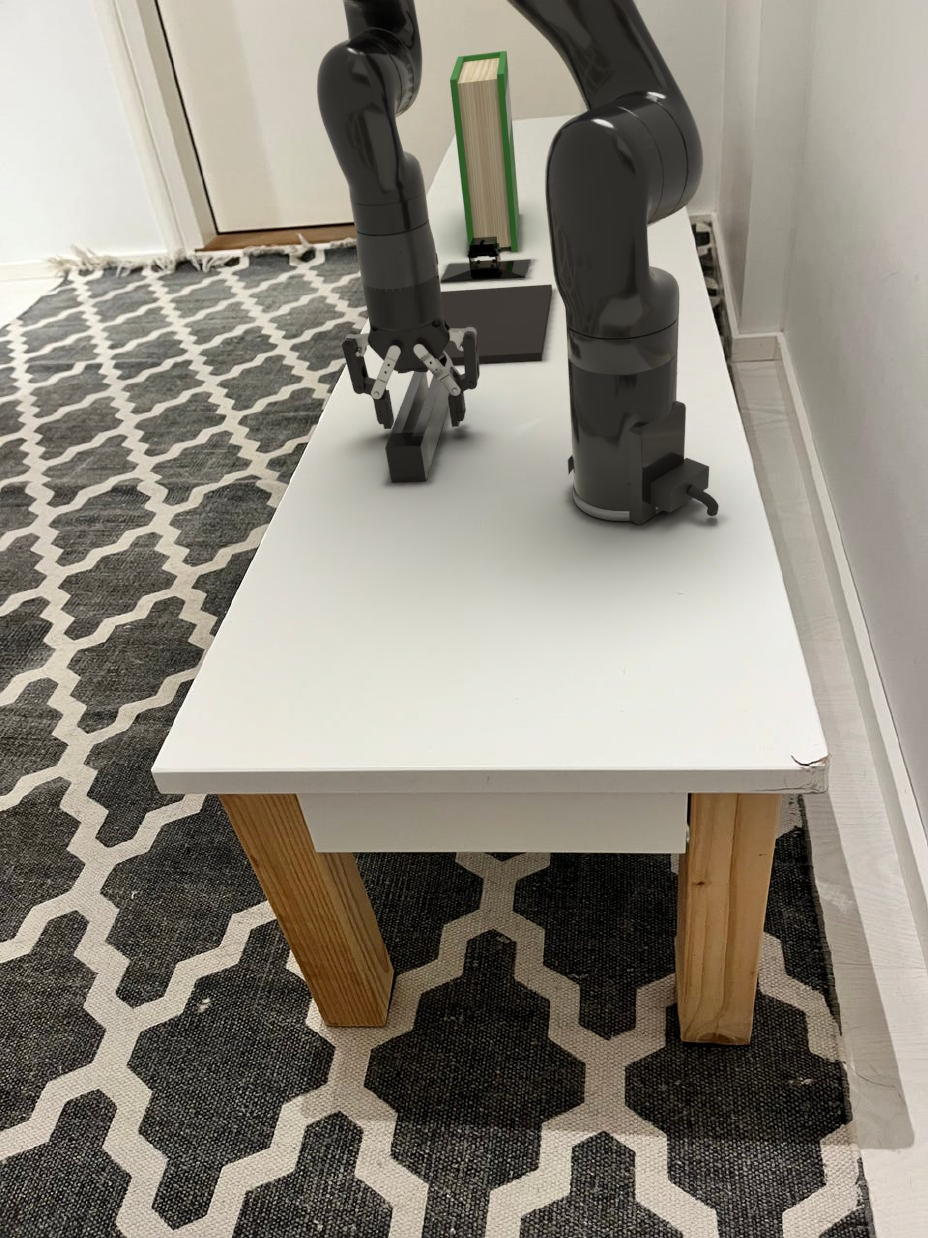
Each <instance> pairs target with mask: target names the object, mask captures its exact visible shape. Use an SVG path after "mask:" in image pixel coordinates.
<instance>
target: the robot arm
mask: <svg viewBox="0 0 928 1238" xmlns="http://www.w3.org/2000/svg"><path fill="white" fill-rule="evenodd" d="M505 1H506V2H507V3H508V4H509V5H510V6H512V7H513V8H514V10H516V12H518V14H520V15H521V16H522V17H523V18H524V19H525V20H526V21H527V22H528V23H529V24H530V25H531V26H532V27H533V28H535V29H536V30H537V31H538V33H540V34H541V35H542V36H543V38H544V39H545V40H546V41H547V42H548V43H549V44H550V45H551V46H552V48H553V49H554V50H555V51H556V52H557V54H558V55H559V57H560V58H561V60H562V62H563V63H564V65H565V66H566V68H567V69H568V72H569V73H570V75H571V77H572V79H573V81H574V84H575V85H576V88H577V90H578V92H579V94H580V96H581V98H582V100H583V103H584V106H585V108H586V111H584V112H582V113H580V114H577V115H575V116H573V117H572V118H569V119H568V120H567V121H565V122H564V123H563V124H562V125H561V126H560V127H559V128H558V129H557V131H556V132H555V134H554V136H553V137H552V140H551V142H550V145H549V147H548V151H547V156H546V162H545V169H544V170H545V171H544V194H545V196H544V197H545V207H546V216H547V225H548V233H549V234H548V235H549V243H550V253H551V263H552V269H553V270H552V271H553V277H554V281H555V285H556V287H557V288H556V289H557V291H558V294H559V296H560V298H561V300H562V303H563V306H564V310H565V327H566V328H565V330H566V347H567V349H566V350H567V351H566V352H567V373H568V393H569V411H570V412H569V413H570V414H569V415H570V432H571V436H570V437H571V452H572V453H571V455H570V456H569V457H568V459H567V470H568V471H567V472H568V473H567V475H568V476H569V475H570V474H571V472H572V471H573V483H572V493H573V494H572V495H573V500H574V503H575V504H576V506H577V507H578V508H579V509H580V510H581V511H583V512H584V513H586V514H587V515H589V516H592V517H595V518H597V519H601V520H605V521H613V522H631V523H634V524H636V525H642V524H644V523H645V522H647V521H649V520H650V519H652V518H653V517H654V516H656V515H658V514H660V513H661V512H663V511H664V512H666V513H669V514H670V513H672V512H674V511H676V509H678V508H680V507H682V506H683V505H684V504H686V503H688V502H689V501H690V500H692V499H695V500H696V501H698V502H700V503H701V504H703V505H704V506H705V507H706V508H707V509H706V514H707V515H708V516H709V517H715V516H717V515H718V512H719V508H720V506H719V503H718V501H716V499H715V498H714V497H713V496H712V495H711V494H709V493H708V492H706V491H705V490H707V489H709V481H710V479H709V477H710V466H709V465H706V464H704V463H701V462H699V461H697V460H694V459H691V458H688V457H685V453H686V452H685V448H686V423H687V421H686V419H687V406H686V404H685V402H681V401H679V400H677V396H678V394H677V392H678V390H677V389H678V360H679V359H678V356H679V355H678V353H679V328H680V327H679V326H680V325H679V324H680V323H679V322H680V321H679V320H680V287H679V282H678V281H677V279H676V277H674V275H673V274H672V273H670V272H668V271H667V270H665V269H662V268H659V267H656V266H651V265H650V256H649V254H650V253H649V239H648V237H649V236H648V228H649V227H651V226H654V225H655V224H657V223H659V222H661V221H663V220H664V219H666V218H669V217H670V216H672V215H674V214H676V213H677V212H679V211H680V210H682V209H683V208H684V207H686V206H687V205H688V204H689V203H690V202H691V201H692V199H693V198H694V197H695V195H696V193H697V191H698V189H699V187H700V184H701V181H702V177H703V176H702V175H703V172H704V171H703V170H704V150H703V145H702V138H701V133H700V131H699V128H698V124H697V122H696V120H695V117H694V115H693V113H692V110H691V108H690V106H689V104H688V102H687V99H686V98H685V96H684V94H683V92H682V89H681V88H680V86H679V84H678V83H677V80H676V78H675V77H674V75H673V72H671V69H670V68H669V65H668V64H667V62H666V60H665V58H664V57H663V55H662V53H661V51H660V49H659V47H658V45H657V43H656V41H655V40H654V38H653V36H652V34H651V32H650V30H649V29H648V26H647V25H646V23H645V21H644V18H643V16H642V14H641V12H640V11H639V9H638V6H637V4H636V3H635V0H505ZM342 3H343V8H344V15H345V21H346V27H347V38H348V39H346V40H344V41H341V42H339V43H337V44H335V45H334V46H332V47H331V48H330V49H329V50H328V51H327V52H326V53H325V55H324V56H323V57H322V59H321V61H320V64H319V67H318V71H317V77H316V96H317V105H318V109H319V113H320V114H319V115H320V119H321V122H322V124H323V127H324V131H325V132H326V135H327V138H328V141H329V142H330V145H331V148H332V151H333V152H334V155H335V158H336V161H337V163H338V165H339V168H340V169H341V172H342V174H343V176H344V178H345V180H346V183H347V187H348V188H347V189H348V194H349V195H348V196H349V202H350V207H351V212H352V213H351V214H352V220H353V224H354V228H355V231H354V232H355V240H356V241H355V242H356V243H355V244H356V255H357V261H358V267H359V268H358V269H359V272H360V278H361V285H362V289H363V296H364V301H365V306H366V311H367V318H368V324H369V332H365V333H358V332H356V331H355V330H350V331H348V332H347V334H346V336H345V338H344V340H343V341H342V342H341V343H342V344H341V348H342V351H343V355H344V359H345V363H346V367H347V371H348V374H349V379H350V383H351V386H352V390H353V392H354V393H355V394H357V395H362V394H366V395H368V396H370V397H371V398H372V400H373V406H374V410H375V416H376V421H377V422H378V425H383V429H384V430H392V428H393V425H394V423H395V417H394V411H393V405H392V399H391V394H390V389H387V385H388V383H389V381H390V379H391V376H392V374H393V372H394V371H395V372H397V374H408V373H410V372H414V371H415V372H426V373H429V371H430V373H431V374H432V376H433V375H434V376H435V378H436V379H437V380H438V381H441V382H442V384H443V385H444V386H445V387H446V389H447V390H448V391H449V395H448V402H449V406H448V409H449V417H450V425H451V427H452V428H458V427H460V424H461V422H464V419H465V416H466V412H467V408H466V401H465V393H464V392H465V391H468V390H475V389H476V388H477V386H478V381H479V378H480V375H481V374H480V371H481V370H480V363H479V349H478V329H477V327H476V326H475V325H473V324H470V325H468V326H467V327H466V328H450V327H449V325H448V324H447V322H446V321H445V318H444V311H443V304H442V296H441V292H442V290H441V289H442V288H441V281H440V280H441V279H440V273H439V257H438V253H437V251H436V244H435V243H436V242H435V239H434V234H433V231H432V228H431V227H432V226H431V222H430V218H429V209H428V208H429V207H428V201H427V193H426V186H425V180H424V179H425V178H424V174H423V170H422V167H421V164H420V161H419V159H417V157H416V156H415V155H414V154H412V153H411V152H408V151H405V150H404V148H403V145H402V142H401V137H400V133H399V129H398V125H397V118H399V117H400V116H402V115H403V114H404V113H406V112H408V110H409V109H411V107H412V106H413V105H414V103H415V102H416V99H417V97H418V95H419V93H420V88H421V83H422V77H423V48H422V39H421V34H420V28H419V22H418V16H417V9H416V3H415V0H342ZM449 341H453V342H454V343H455V344H456V346H457V349H458V350H459V351H462V352H464V364H463V368H464V373H462V374H461V373H460V372H459V370H458V369H457V368H456V367H455V365H453V363H452V360H451V359H450V357H449V356H448V355H447V353H446V352H445V351H444V350H445V348H446V346H447V345H448V343H449ZM368 346H369V347H370V349H372V350H373V351H374V352H375V353H376V354H377V355H378V357H379V358H380V359H381V360H382V361H383V362H382V364H381V367H380V369H379V371H378V374H377V377H376V378H373V377H370V376H369V373H368V369H367V364H366V360H365V354H366V353H367V350H368V348H367V347H368Z"/></svg>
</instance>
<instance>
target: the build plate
mask: <svg viewBox="0 0 928 1238" xmlns="http://www.w3.org/2000/svg"><path fill="white" fill-rule="evenodd" d="M501 251H502V247H500V246H499V243H497V236H495V237H479V238H472V240H471V242H470V244H469V249H468V251H467V255H466V256H467V257H466V258H468V262H457V263H456V262H455V263H449V264H448V265H447V267H446V268H445V271H444V273H442V277H441V278H440V279H439V280H440V284H449V283H467V282H469V283H470V282H483V281H484V282H486V281H487V282H489V281H506V280H524V279H526V278H527V275H528V271H529V268H530V265H531V262H532V259H531V258H527V259H510V260H502V259H501ZM479 257H480V258H481V257H488V258H493V259H487V260H486V259H485V260H481V259H477V258H479ZM475 259H477V260H475Z"/></svg>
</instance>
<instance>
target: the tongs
mask: <svg viewBox="0 0 928 1238" xmlns="http://www.w3.org/2000/svg"><path fill="white" fill-rule="evenodd" d="M448 395H449V391H448V390H447V389H446V387H445V386H444V385H443V384H442V382H441V381H438V380H437V379H436V378H435V376H434V375H433V374H432V378H431V381H430V384H429V381H428V375H427V372H415V371H413V373H412V376H411V379H410V381H409V384H408V386H407V389H406V391H405V394H404V397H403V400H402V402H401V405H400V407H399V410H398V412H397V415H396V417H395V419H394V423H393V426H392V428H391V430H390V434H389V436H388V439H387V442H386V444H385V447H384V449H385V455H386V461H387V466H388V471H389V477H390V482H391V483H407V482H408V483H409V482H412V483H413V482H426V481H427V479H428V475H429V473H430V469H431V466H432V463H433V459H434V456H435V453H436V451H437V450H436V449H437V446H438V443H439V439H440V437H441V433H442V430H443V426H444V422H445V419H446V416H447V413H448V409H449V402H448Z"/></svg>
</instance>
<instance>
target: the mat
mask: <svg viewBox="0 0 928 1238" xmlns="http://www.w3.org/2000/svg"><path fill="white" fill-rule="evenodd" d="M552 295H553V284H552V283H551V284H550V283H549V284H536V285H523V286H522V285H521V286H507V287H491V288H489V287H488V288H476V289H463V290H461V289H459V290H449V291H448V290H446V291H445V290H444V291H441V296H442V304H443V311H444V318H445V321H446V322H447V324H448V325H449V327H450V328H466V327H467V326H468V325H470V324H473V325H475V326H476V327H477V329H478V349H479V364H494V363H495V364H496V363H513V362H533V361H534V362H535V361H542V359H543V353H544V346H545V341H546V334H547V327H548V321H549V315H550V307H551V302H552ZM444 351H445V352H446V353H447V355H448V356H449V357H450V359H451V360H452V363H453V366H457V365H464V352H462V351H459V350H458V349H457V346H456V344H455V343H454V342H453V341H449V343H448V345H447V346H446V348H445V350H444Z"/></svg>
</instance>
